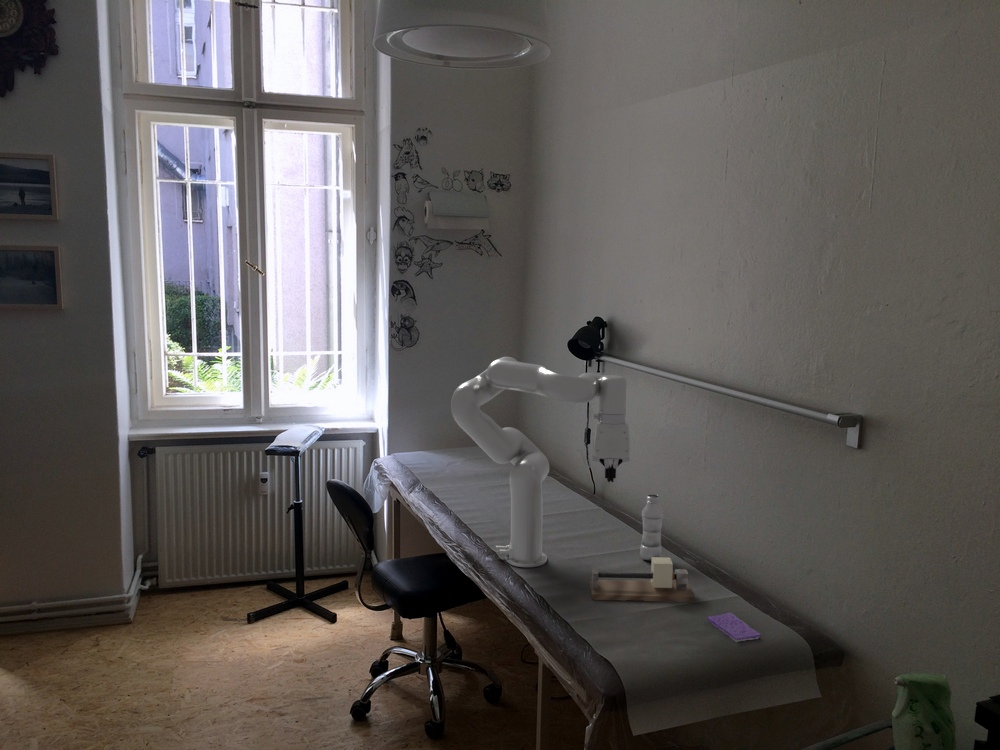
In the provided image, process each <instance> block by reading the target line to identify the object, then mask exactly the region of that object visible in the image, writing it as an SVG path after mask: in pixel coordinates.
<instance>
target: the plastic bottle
mask: <svg viewBox="0 0 1000 750" xmlns="http://www.w3.org/2000/svg"><path fill="white" fill-rule="evenodd" d="M660 503H661V502H660V495H658V494H647V495H646V504H645V506H644V507H643V508H642V511H641V520H642V536H641V537H642V538H641V544H640V547H639V553H640V557H641V558H642V559H643V560H645V561H649V562H651V561H652V557H662V553H663V548H662V535H661V534H662V524H663V522H664V521H663V520H664V510H663V508H662V506H661V505H660Z"/></svg>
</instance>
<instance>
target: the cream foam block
mask: <svg viewBox="0 0 1000 750" xmlns="http://www.w3.org/2000/svg"><path fill="white" fill-rule="evenodd" d="M650 562H651V564H650V566H651V567H650V573H653V579H650V581H651V583H652V586H653V588H672V581H673V580H672V573H674V572H673V571H674V569H673V568H674V564H673V562H672V558H671V557H664V556H663V557H662V556H661V557H652V561H650Z"/></svg>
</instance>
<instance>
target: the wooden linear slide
mask: <svg viewBox="0 0 1000 750" xmlns="http://www.w3.org/2000/svg"><path fill="white" fill-rule="evenodd" d="M598 570H599V569H595V568H594V569H593V568H591V579H589V588H590V589H589V590H590V594H591V599H592V600H595V601H626V600H644V601H643V602H665V601H680V602H679V603H694V602H695V601H694V600H695V597H694V594H693V592H692V590H691V588H690V586H689V572H688V570H687V569H684V568H683V569H680V568H678V569H677V568H676V569H674V571H675V572H673V573H672V588H653V586H652V583H651V579H653V573H651V572H648V573H647V572H645V573H644V572H614V571H613V572H610V571H609V572H608V571H607V572H606V571H598ZM599 578H608V579H599ZM621 579H622V580H621ZM626 579H630V580H626ZM631 579H632V580H631ZM633 579H643V580H633ZM644 579H645V580H644ZM646 579H649V580H646ZM674 580H675V581H674Z"/></svg>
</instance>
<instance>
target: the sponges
mask: <svg viewBox="0 0 1000 750" xmlns="http://www.w3.org/2000/svg"><path fill="white" fill-rule="evenodd" d="M707 620H708V621H709V622H708V621H707V622H708V623H710V622H711V623H713V624H714V625H715V626H717V627H718V628H720V629H721V630H723V631H724V632H725V633H727V634H728V635H729V636H731V637H732V638H734V639H735V640H741V639H742V640H743V639H749V638H756V637H760V638H761V633H760V632H758V631H757V630H755V629H753V628H751V626H749V624H747V623H746V622H744V621H743V620H742V619H740V618H739V617H737V616H736V615H735V614H733V613H732V612H727V613H722V614H718V615H710V616H707ZM711 623H710V624H711ZM714 625H713V626H714ZM715 626H714V627H715Z"/></svg>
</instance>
